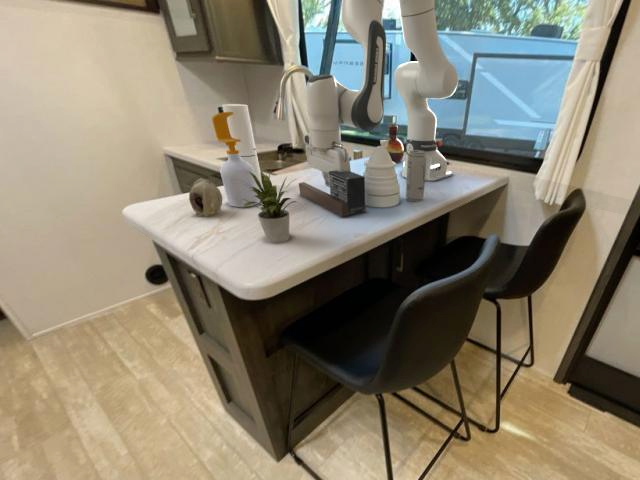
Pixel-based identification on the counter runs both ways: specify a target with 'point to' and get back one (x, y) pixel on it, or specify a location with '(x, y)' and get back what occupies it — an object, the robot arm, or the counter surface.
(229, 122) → the cylindrical container
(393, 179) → the honey pot
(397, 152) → the vase
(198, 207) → the round stone pot
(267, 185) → the house plant
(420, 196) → the energy drink can
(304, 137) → the robot arm
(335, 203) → the back rail
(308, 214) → the counter surface
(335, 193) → the small box
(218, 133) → the spray bottle
